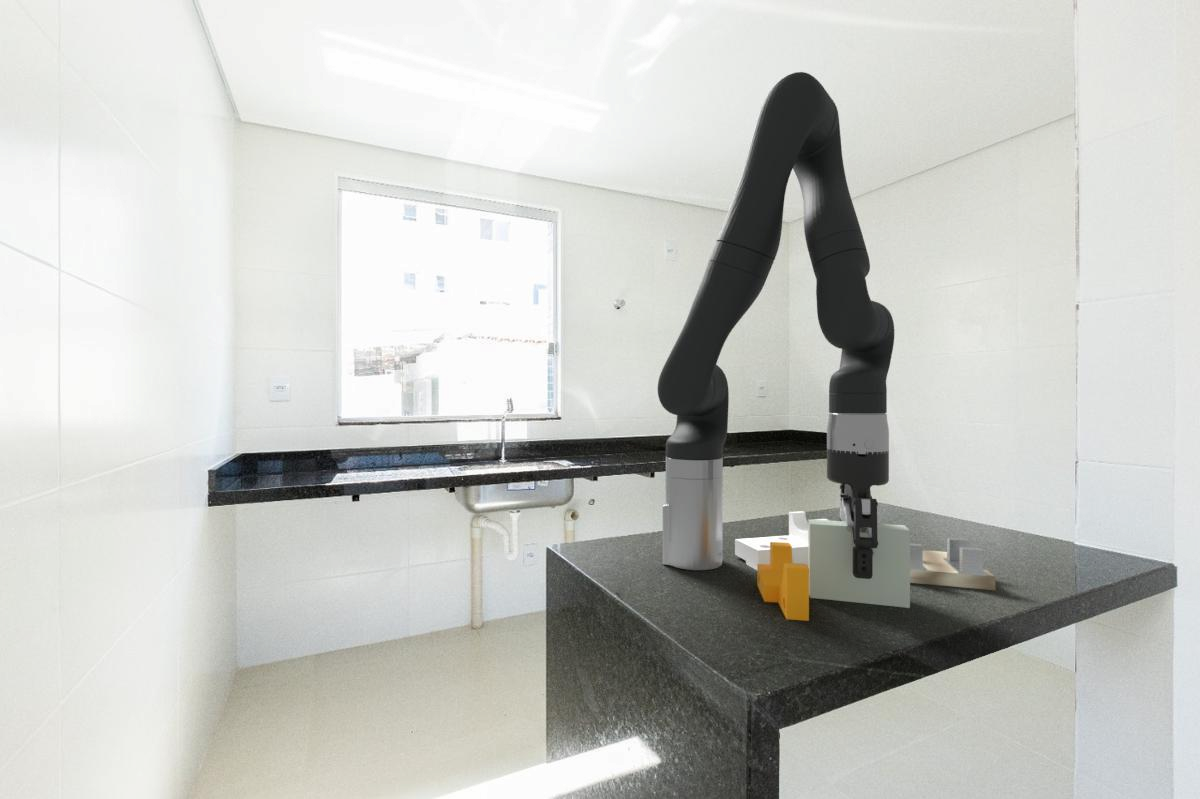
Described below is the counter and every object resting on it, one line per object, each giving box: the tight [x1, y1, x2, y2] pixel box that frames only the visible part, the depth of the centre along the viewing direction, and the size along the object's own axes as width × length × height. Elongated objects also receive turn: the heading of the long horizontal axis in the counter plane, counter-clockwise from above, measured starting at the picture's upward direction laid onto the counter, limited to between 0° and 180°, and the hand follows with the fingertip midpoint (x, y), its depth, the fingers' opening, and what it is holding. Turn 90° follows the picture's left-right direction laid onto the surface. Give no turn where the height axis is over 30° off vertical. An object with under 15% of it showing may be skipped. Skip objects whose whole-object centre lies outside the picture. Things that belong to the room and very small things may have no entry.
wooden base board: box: [910, 549, 996, 591], centre depth 83 cm, size 13×12×2 cm
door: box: [807, 518, 911, 609], centre depth 72 cm, size 12×4×10 cm, turn 73°
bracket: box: [734, 510, 829, 571], centre depth 89 cm, size 13×7×8 cm, turn 105°
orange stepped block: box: [756, 542, 810, 621], centre depth 71 cm, size 12×4×6 cm, turn 172°
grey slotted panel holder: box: [910, 534, 988, 576], centre depth 81 cm, size 11×7×4 cm, turn 73°
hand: (857, 567), depth 72 cm, fingers open, 8 cm apart
